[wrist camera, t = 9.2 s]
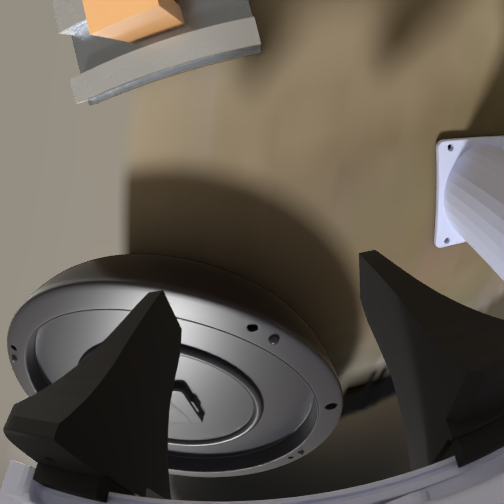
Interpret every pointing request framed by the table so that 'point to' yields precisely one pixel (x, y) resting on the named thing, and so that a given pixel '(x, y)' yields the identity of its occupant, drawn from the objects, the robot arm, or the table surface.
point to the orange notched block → (131, 18)
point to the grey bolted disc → (193, 358)
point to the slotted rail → (156, 46)
